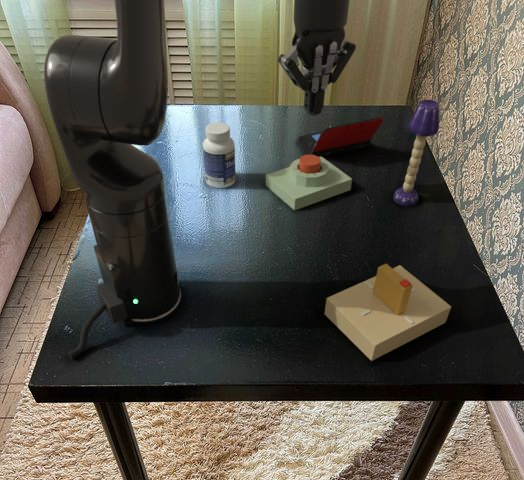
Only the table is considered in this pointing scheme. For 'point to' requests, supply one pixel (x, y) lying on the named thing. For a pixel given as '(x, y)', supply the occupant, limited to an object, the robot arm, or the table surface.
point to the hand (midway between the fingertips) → (313, 112)
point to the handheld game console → (340, 138)
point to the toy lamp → (418, 147)
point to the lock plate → (385, 316)
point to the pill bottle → (219, 156)
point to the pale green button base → (307, 184)
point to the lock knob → (392, 289)
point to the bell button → (309, 164)
